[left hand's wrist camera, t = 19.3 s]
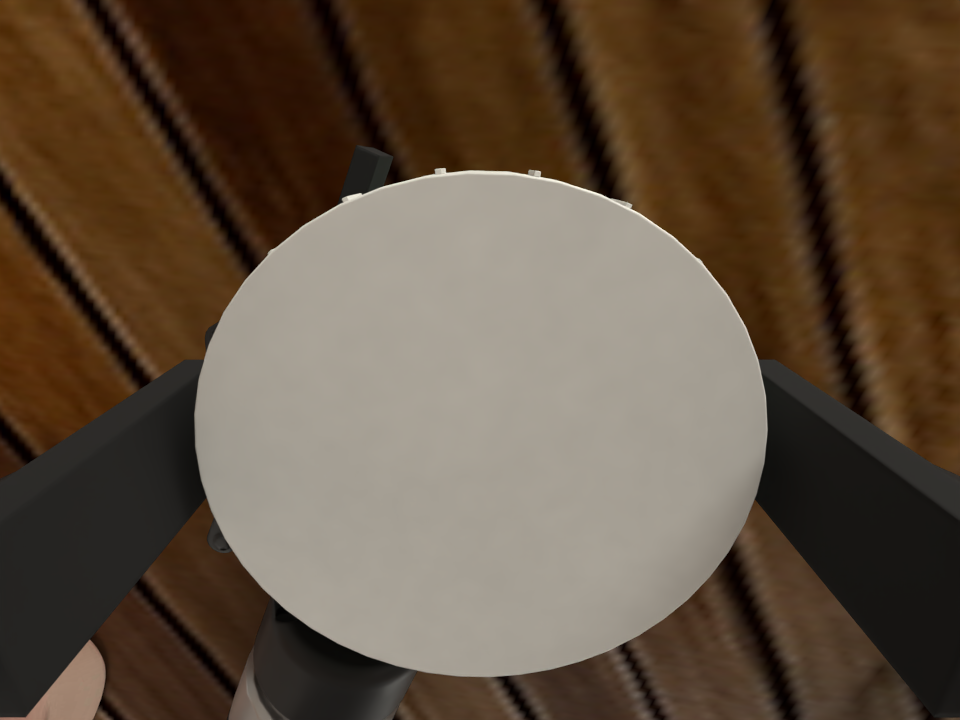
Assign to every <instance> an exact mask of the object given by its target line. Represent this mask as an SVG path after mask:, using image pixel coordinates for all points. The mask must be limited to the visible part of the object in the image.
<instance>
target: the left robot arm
mask: <svg viewBox="0 0 960 720" xmlns="http://www.w3.org/2000/svg"><path fill="white" fill-rule="evenodd" d="M758 361H759V366H760V370H761V375H762V380H763V385H764V390H765V394H766V409H767V428H768V431H767V441H766V451H765V461H764V466H763V470H762V474H761V478H760V482H759V486H758V490H757V494H756V497H755V500H756V501H757V502H758V504H759V505H760V506H761V507H762V508H763V510H764V511H765V512H766V513H767V514H768V516H769V517H770V518H771V519H772V521H773V522H774V523H775V524H776V525H777V527H778V528H779V529H780V530H781V532H782V533H783V534H784V535H785V536H786V538H787V539H788V540H789V541H790V542H791V544H792V545H793V546H794V547H795V549H796V550H797V551H798V552H799V553H800V555H801V556H802V557H803V558H804V559H805V561H806V562H807V563H808V564H809V566H810V567H811V568H812V569H813V570H814V572H815V573H816V574H817V575H818V577H819V578H820V579H821V580H822V581H823V583H824V584H825V585H826V586H827V587H828V589H829V590H830V591H831V592H832V594H833V595H834V596H835V597H836V598H837V600H838V601H839V602H840V603H841V605H842V606H843V607H844V608H845V609H846V611H847V612H848V613H849V614H850V615H851V617H852V618H853V619H854V620H855V622H856V623H857V624H858V625H859V626H860V628H861V629H862V630H863V631H864V633H865V634H866V635H867V636H868V637H869V639H870V640H871V641H872V642H873V643H874V645H875V646H876V647H877V648H878V650H879V651H880V652H881V653H882V654H883V656H884V657H885V658H886V659H887V661H888V662H889V663H890V664H891V665H892V667H893V668H894V669H895V670H896V671H897V673H898V674H899V675H900V676H901V678H902V679H903V680H904V681H905V682H906V684H907V685H908V686H909V687H910V689H911V690H912V691H913V692H914V693H915V695H916V696H917V697H918V698H919V699H920V701H921V702H922V703H923V704H924V706H925V707H926V708H927V709H928V710H929V712H930V713H931V714H932V715H933V717H960V476H958V475H956V474H954V473H951V472H949V471H947V470H945V469H942V468H940V467H938V466H936V465H933V464H932V463H930V462H929V461H927V460H926V459H924V458H923V457H921V456H920V455H918V454H917V453H915V452H914V451H912V450H911V449H909V448H907V447H906V446H904V445H903V444H901V443H900V442H898V441H897V440H895V439H894V438H892V437H891V436H889V435H888V434H886V433H885V432H883V431H882V430H880V429H879V428H877V427H876V426H874V425H873V424H871V423H870V422H868V421H867V420H865V419H864V418H862V417H861V416H859V415H858V414H856V413H855V412H853V411H852V410H850V409H849V408H847V407H846V406H844V405H843V404H841V403H840V402H838V401H836V400H835V399H833V398H832V397H830V396H829V395H827V394H826V393H824V392H823V391H821V390H820V389H818V388H817V387H815V386H814V385H812V384H811V383H809V382H808V381H806V380H805V379H803V378H802V377H800V376H799V375H797V374H796V373H794V372H793V371H791V370H790V369H788V368H787V367H785V366H784V365H782V364H781V363H779V362H778V361H776V360H758ZM203 363H204V360H184V361H182V362H181V363H179V364H178V365H176V366H175V367H173V368H172V369H170V370H169V371H167V372H166V373H164V374H163V375H161V376H160V377H158V378H157V379H155V380H154V381H152V382H151V383H149V384H148V385H146V386H145V387H143V388H142V389H140V390H139V391H137V392H136V393H134V394H133V395H131V396H130V397H128V398H127V399H125V400H123V401H122V402H120V403H119V404H117V405H116V406H114V407H113V408H111V409H110V410H108V411H107V412H105V413H104V414H102V415H101V416H99V417H98V418H96V419H95V420H93V421H92V422H90V423H89V424H87V425H86V426H84V427H83V428H81V429H80V430H78V431H77V432H75V433H74V434H72V435H71V436H69V437H68V438H66V439H65V440H63V441H62V442H60V443H59V444H57V445H56V446H54V447H53V448H51V449H49V450H48V451H46V452H45V453H43V454H42V455H40V456H39V457H37V458H36V459H34V460H33V461H31V462H30V463H28V464H27V465H25V466H24V467H22V468H21V469H19V470H18V471H16V472H14V473H12V474H9V475H7V476H5V477H3V478H1V479H0V717H27V715H28V714H29V713H30V712H31V710H32V709H33V708H34V707H35V706H36V704H37V703H38V702H39V701H40V699H41V698H42V697H43V696H44V695H45V693H46V692H47V691H48V690H49V689H50V687H51V686H52V685H53V684H54V682H55V681H56V680H57V679H58V678H59V676H60V675H61V674H62V673H63V671H64V670H65V669H66V668H67V667H68V665H69V664H70V663H71V662H72V661H73V659H74V658H75V657H76V656H77V654H78V653H79V652H80V651H81V650H82V648H83V647H84V646H85V645H86V643H87V642H88V641H89V640H90V639H91V637H92V636H93V635H94V634H95V633H96V631H97V630H98V629H99V628H100V626H101V625H102V624H103V623H104V622H105V620H106V619H107V618H108V617H109V615H110V614H111V613H112V612H113V611H114V609H115V608H116V607H117V606H118V605H119V603H120V602H121V601H122V600H123V598H124V597H125V596H126V595H127V594H128V592H129V591H130V590H131V589H132V587H133V586H134V585H135V584H136V583H137V581H138V580H139V579H140V578H141V577H142V575H143V574H144V573H145V572H146V570H147V569H148V568H149V567H150V566H151V564H152V563H153V562H154V561H155V559H156V558H157V557H158V556H159V555H160V553H161V552H162V551H163V550H164V549H165V547H166V546H167V545H168V544H169V542H170V541H171V540H172V539H173V538H174V536H175V535H176V534H177V533H178V531H179V530H180V529H181V528H182V527H183V525H184V524H185V523H186V522H187V521H188V519H189V518H190V517H191V516H192V514H193V513H194V512H195V511H196V510H197V508H198V507H199V506H200V505H201V504H202V502H203V501H204V500H205V499H206V494H205V491H204V488H203V485H202V482H201V477H200V472H199V466H198V460H197V455H196V449H195V421H194V412H195V405H196V397H197V389H198V381H199V376H200V373H201V370H202V366H203Z"/></svg>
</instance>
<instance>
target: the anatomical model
mask: <svg viewBox="0 0 960 720" xmlns="http://www.w3.org/2000/svg"><path fill="white" fill-rule="evenodd" d="M105 678H106V671H105V664H104V661H103V658H102V656H101V654H100V652H99V650H98V649H97V647H96V646H95V645H94V643H93V642H92V641H91V640H89V641H88V642H87V643H86V645H85V646H84V647H83V648H82V650H81V651H80V652H79V653H78V654H77V656H76V657H75V658H74V659H73V661H72V662H71V663H70V664H69V665H68V667H67V668H66V669H65V670H64V671H63V673H62V674H61V675H60V676H59V678H58V679H57V680H56V681H55V682H54V684H53V685H52V686H51V687H50V689H49V690H48V691H47V692H46V693H45V695H44V696H43V697H42V698H41V699H40V701H39V702H38V703H37V704H36V706H35V707H34V708H33V709H32V710H31V712H30V713H29V714H28V715H27V717H0V720H93V718H94V716H95V713H96V711H97V708H98V706H99V703H100V700H101V697H102V693H103V689H104V684H105Z"/></svg>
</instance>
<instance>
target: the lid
mask: <svg viewBox="0 0 960 720" xmlns="http://www.w3.org/2000/svg"><path fill="white" fill-rule="evenodd" d="M540 175H541V172H540V171H534V170H529V172H528V175H525V174H519V173H513V172H500V171H462V172H452V173H446V169H445V168H441V169H435V174H433V175H428V176H424V177H420V178H416V179H412V180H408V181H404V182H400V183H396V184H392V185H388V186H384V187H380V188H378V189H375V190H373V191H371V192H368V193H366V194H363V195H362V194H361V193H359V194H355V195H350V196H346V197H344V198H342V201H343V203H341V204H339V205H338V206H336V207H334V208H332V209H331V210H329V211H327V212H326V213H324V214H322V215H321V216H319V217H317V218H315V219H314V220H312V221H310V222H309V223H307V224H305V225H304V226H302V227H301V228H300V229H299V230H297V231H296V232H295V233H294V234H292V235H291V236H290V237H289V238H287V239H286V240H285V241H284V242H283V243H281V244H280V245H279V246H278V247H276V248H275V249H272V250H270V252H269V253H268V256H267V257H266V258H265V259H264V260H263V261H262V262H261V264H260V265H259V266H258V267H257V268H256V269H255V270H254V271H253V272H252V273H251V274H250V275H249V277H248V278H247V279H246V280H245V281H244V283H243V284H242V286H241V287H240V289H239V290H238V292H237V293H236V295H235V296H234V298H233V299H232V301H231V302H230V304H229V305H228V307H227V308H226V310H225V311H224V313H223V315H222V317H221V319H220V321H219V324H218V326H217V328H216V330H215V332H214V334H213V337H212V339H211V341H210V343H209V345H208V349H207V352H206V356H205V359H204V363H203V366H202V370H201V373H200V376H199V381H198V389H197V397H196V405H195V412H194V421H195V449H196V455H197V460H198V466H199V472H200V477H201V482H202V485H203V488H204V491H205V494H206V497H207V500H208V503H209V506H210V509H211V511H212V513H213V515H214V517H215V519H216V522H217V524H218V526H219V528H220V530H221V532H222V534H223V536H224V538H225V540H226V541H227V543H228V544H229V546H230V547H231V549H232V550H233V552H234V553H235V555H236V556H237V558H238V559H239V561H240V562H241V564H242V565H243V566H244V568H245V569H246V570H247V571H248V572H249V573H250V574H251V576H252V577H253V578H254V579H255V580H256V581H257V583H258V584H259V585H260V586H261V587H262V588H263V589H264V590H265V591H266V592H267V593H268V594H269V595H270V596H271V597H272V598H273V599H275V600H276V601H277V602H278V603H279V604H280V605H281V606H282V607H283V608H284V609H285V610H287V611H288V612H289V613H291V614H292V615H294V616H295V617H296V618H298V619H299V620H300V621H302V622H303V623H305V624H306V625H307V626H309V627H310V628H312V629H313V630H315V631H317V632H319V633H320V634H322V635H324V636H326V637H327V638H329V639H331V640H333V641H334V642H336V643H338V644H340V645H342V646H344V647H347V648H349V649H351V650H354V651H356V652H358V653H360V654H363V655H365V656H367V657H370V658H373V659H377V660H380V661H383V662H386V663H389V664H392V665H395V666H399V667H403V668H408V669H413V670H417V671H422V672H426V673H434V674H443V675H451V676H467V677H496V676H509V675H521V674H527V673H533V672H539V671H545V670H551V669H554V668H558V667H562V666H565V665H569V664H573V663H576V662H580V661H583V660H585V659H588V658H591V657H593V656H596V655H598V654H601V653H604V652H606V651H609V650H611V649H613V648H615V647H617V646H619V645H621V644H623V643H625V642H627V641H629V640H631V639H633V638H635V637H637V636H638V635H640V634H641V633H643V632H645V631H646V630H648V629H649V628H651V627H652V626H654V625H655V624H657V623H658V622H660V621H661V620H663V619H664V618H666V617H667V616H668V615H669V614H671V613H672V612H673V611H674V610H675V609H677V608H678V607H679V606H680V605H682V604H683V603H684V602H685V601H686V600H688V599H689V598H690V597H691V596H692V595H693V593H694V592H695V591H696V590H697V589H698V588H699V587H700V586H701V585H702V584H703V583H704V582H705V581H706V580H707V579H708V578H709V577H710V576H711V574H712V573H713V572H714V570H715V569H716V568H717V566H718V565H719V564H720V562H721V561H722V560H723V558H724V557H725V556H726V555H727V553H728V552H729V550H730V548H731V547H732V545H733V543H734V541H735V540H736V538H737V536H738V534H739V533H740V531H741V529H742V527H743V526H744V524H745V521H746V519H747V517H748V514H749V512H750V509H751V507H752V504H753V502H754V499H755V497H756V494H757V490H758V486H759V482H760V478H761V474H762V470H763V466H764V461H765V451H766V441H767V431H768V428H767V409H766V394H765V390H764V385H763V380H762V375H761V370H760V366H759V361H758V358H757V356H756V353H755V350H754V348H753V345H752V342H751V340H750V337H749V334H748V332H747V329H746V327H745V325H744V323H743V322H742V320H741V318H740V316H739V314H738V313H737V311H736V309H735V307H734V306H733V304H732V302H731V300H730V299H729V297H728V295H727V294H726V292H725V291H724V290H723V289H722V287H721V286H720V285H719V284H718V282H717V281H716V280H715V279H714V277H713V276H712V275H711V274H710V272H709V271H708V270H707V269H706V267H705V266H704V265H703V264H702V261H701V260H700V259H698V258H696V257H695V256H694V255H693V254H691V253H690V252H689V251H688V250H687V249H686V248H685V247H684V246H683V245H682V244H681V243H680V242H679V241H678V240H676V239H675V238H674V237H673V236H672V235H670V234H669V233H667V232H666V231H664V230H663V229H661V228H660V227H658V226H657V225H656V224H654V223H653V222H651V221H650V220H648V219H647V218H645V217H644V216H642V215H641V214H639V213H638V212H636V211H633V210H631V209H630V208H631V207H632V205H631V204H629V203H627V202H623V201H619V200H615V199H609V198H607V197H605V196H603V195H601V194H598V193H595V192H592V191H589V190H586V189H582V188H579V187H576V186H573V185H570V184H567V183H564V182H561V181H557V180H552V179H548V178H542V177H540Z"/></svg>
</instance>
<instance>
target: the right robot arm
mask: <svg viewBox="0 0 960 720" xmlns="http://www.w3.org/2000/svg"><path fill="white" fill-rule="evenodd" d="M392 159H393V156H390V155H388V154H386V153H384V152H381V151H379V150H377V149H374V148H370V147H364V146H357V145H356V148H355V151H354V154H353V157H352V161H351V164H350V167H349V170H348V173H347V176H346V180H345V183H344V186H343V189H342V192H341V195H340V198H339V202H338V205H339V204H341V203H343V201H342V198H344V197H346V196H350V195H355V194H359V193H361V194H362V195H363V194H366V193H368V192H371V191H373V190H375V189H378V188H380V187H383V185H384V183H385V180H386V177H387V174H388V171H389V168H390V165H391V162H392ZM338 205H337V206H338ZM218 324H219V322H217V323H216V324H214V325H213V326H211V327H209V329H208V330H207V332H206V335H205V345H206V352H207V349H208V345H209V343H210V341H211V339H212V337H213V334H214V332H215V330H216V328H217V326H218ZM207 541H208V544H209V546H210V547H211V548H212V549H214V550H215V551H217V552H221V553H228V552H231V551H233V550H232V549H231V547H230V546H229V544H228V543H227V541H226V540H225V538H224V536H223V534H222V532H221V530H220V528H219V526H218V524H217V522H216V519H215V517H214V519H213V522H212V525H211V528H210V530H209V533H208V536H207ZM416 673H417V670H413V669H408V668H403V667H399V666H395V665H392V664H389V663H386V662H383V661H380V660H377V659H373V658H370V657H367V656H365V655H363V654H360V653H358V652H356V651H354V650H351V649H349V648H347V647H344V646H342V645H340V644H338V643H336V642H334V641H333V640H331V639H329V638H327V637H326V636H324V635H322V634H320V633H319V632H317V631H315V630H313V629H312V628H310V627H309V626H307V625H306V624H305V623H303V622H302V621H300V620H299V619H298V618H296V617H295V616H294V615H292V614H291V613H289V612H288V611H287V610H285V609H284V608H283V607H282V606H281V605H280V604H279V603H278V602H277V601H276V600H275V599H273V598H272V597H270V600H269V603H268V606H267V608H266V611H265V614H264V616H263V619H262V622H261V625H260V627H259V630H258V633H257V636H256V640H255V644H254V646H253V648H252V650H251V652H250V654H249V657H248V660H247V662H246V665H245V668H244V671H243V674H242V676H241V679H240V682H239V685H238V688H237V690H236V693H235V696H234V699H233V703H232V706H231V708H230V711H229V714H228V718H227V720H392V719H393V717H394V715H395V713H396V711H397V709H398V707H399V704H400V702H401V701H402V699H403V698H404V696H405V694H406V692H407V690H408V688H409V686H410V684H411V682H412V680H413V678H414V676H415V675H416Z"/></svg>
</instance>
